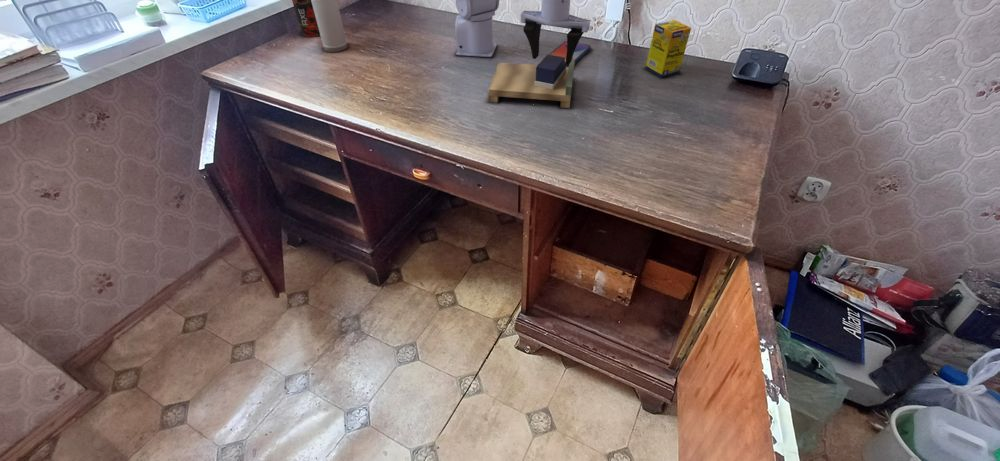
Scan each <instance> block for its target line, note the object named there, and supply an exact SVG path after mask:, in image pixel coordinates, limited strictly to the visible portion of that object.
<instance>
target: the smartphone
mask: <svg viewBox="0 0 1000 461" xmlns="http://www.w3.org/2000/svg"><path fill="white" fill-rule="evenodd" d="M590 50H591V45H590V44H587V43H581V42H578V44H577V46H576V48H575V51H574V54H573V57H572V59H575V64H576V63H577V62H579V60H580V59H582V57H584V56H585V55H586V54H587V53H588V52H589V51H590ZM549 55H554V56H560V57H565V62H566V55H567V40H565V41H563V42H562V43H561V44H560V45H558V46H557V47H556V48H555V49H554V50H552V51H551V52H550V53H549ZM566 67H569V65H566Z"/></svg>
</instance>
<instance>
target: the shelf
mask: <svg viewBox="0 0 1000 461" xmlns="http://www.w3.org/2000/svg"><path fill="white" fill-rule="evenodd" d="M575 64H576V63H575V59H572V61H571V63H570V64H569V67H566V73H565V74H564V75H563V77H562V78H561V79H560V81H559V82H558V83H557V85H556V86H555V87H554V89H549V88H543V87H538V86H534V82H535V81H536V67H537V66H538V64H527V63H512V62H511V63H510V62H498V64H497V67H496V69H495V72H494V74H493V76H492V80H491V82H490V84H489V87H488V102H489V103H498V102H499V100H500V97H501V98H502V97H503V98H515V99H529V100H541V101H542V100H543V101H544V100H545V101H554V102H560V108H564V109H570V108H571V98H572V91H573V90H572V89H573V83H574V72H575Z"/></svg>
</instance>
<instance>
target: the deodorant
mask: <svg viewBox="0 0 1000 461" xmlns="http://www.w3.org/2000/svg"><path fill="white" fill-rule="evenodd" d="M291 2H292V6H293V9H294V12H295V16H296V19H297V22H298V25H299V29H300V32H301V35H302V36H303V37H306V38H314V37H318V36H320V32H319V28H318V24H317V20H316V17H315V13H314V9H313V5H312V2H311V0H291Z"/></svg>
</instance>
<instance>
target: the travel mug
mask: <svg viewBox="0 0 1000 461" xmlns="http://www.w3.org/2000/svg"><path fill="white" fill-rule="evenodd" d="M311 2H312V5H313V9H314V13H315V17H316V20H317V24H318V28H319V32H320V35H319V36H320V40H321V43H322V46H323V50H324V51H326V52H329V53H338V52H342V51H345V50H347V48H348V47H349V46H348V45H349V44H348V40H347V36H346V32H345V27H344V23H343V19H342V15H341V11H340V6H339V2H338V0H311Z"/></svg>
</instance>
